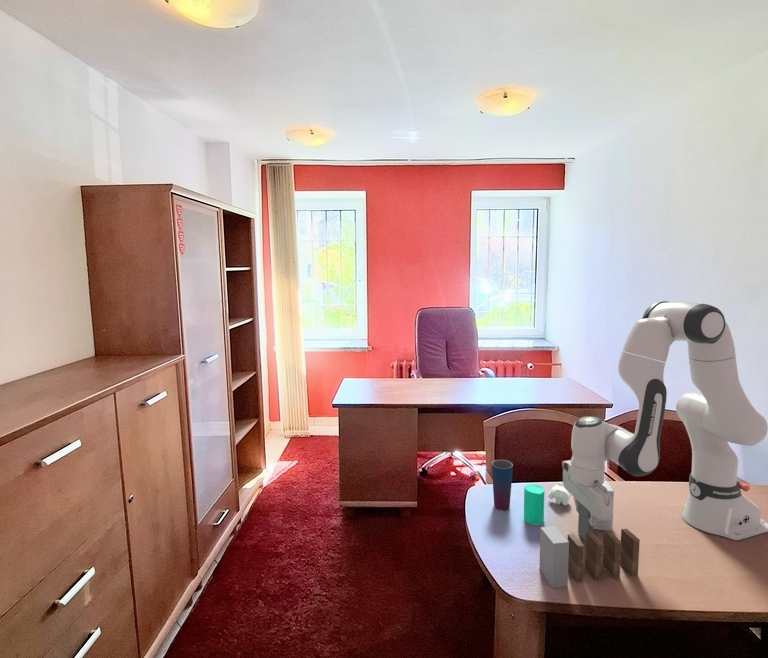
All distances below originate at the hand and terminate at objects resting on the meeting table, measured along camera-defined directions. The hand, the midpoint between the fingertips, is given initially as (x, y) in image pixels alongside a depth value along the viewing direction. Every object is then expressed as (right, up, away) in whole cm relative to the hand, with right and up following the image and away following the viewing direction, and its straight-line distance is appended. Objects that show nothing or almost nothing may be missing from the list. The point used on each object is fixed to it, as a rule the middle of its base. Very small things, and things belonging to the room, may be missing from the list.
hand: (585, 518), depth 129 cm
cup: (-19, -5, +20) cm, 28 cm away
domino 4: (+6, -8, -13) cm, 16 cm away
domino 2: (-4, -9, -14) cm, 17 cm away
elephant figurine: (+1, -4, +21) cm, 21 cm away
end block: (-15, -9, -15) cm, 23 cm away
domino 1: (-9, -9, -14) cm, 19 cm away
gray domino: (0, -6, +1) cm, 6 cm away
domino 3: (+1, -8, -13) cm, 15 cm away
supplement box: (+7, -5, +9) cm, 12 cm away
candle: (-11, -6, +12) cm, 17 cm away
